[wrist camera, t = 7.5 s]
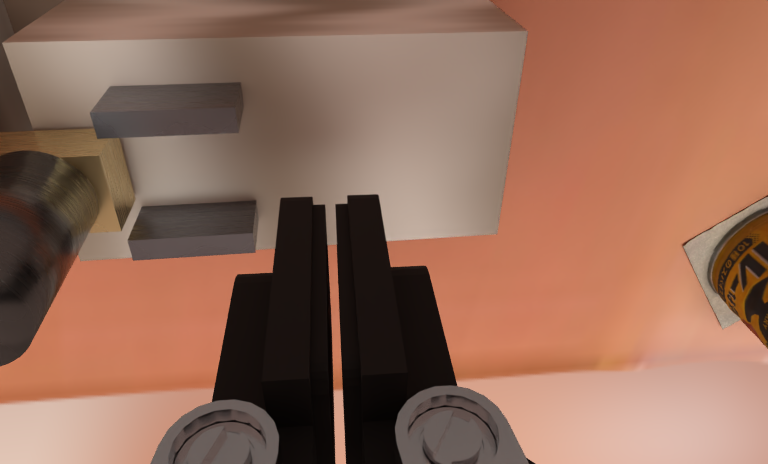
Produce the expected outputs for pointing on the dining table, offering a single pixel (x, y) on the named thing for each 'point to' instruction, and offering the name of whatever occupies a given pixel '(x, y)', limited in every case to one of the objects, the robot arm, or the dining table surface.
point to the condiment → (736, 268)
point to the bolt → (51, 218)
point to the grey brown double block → (288, 102)
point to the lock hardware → (173, 118)
